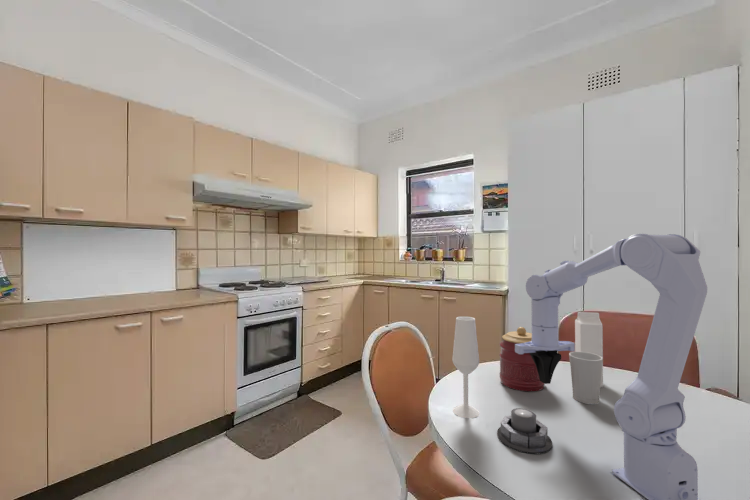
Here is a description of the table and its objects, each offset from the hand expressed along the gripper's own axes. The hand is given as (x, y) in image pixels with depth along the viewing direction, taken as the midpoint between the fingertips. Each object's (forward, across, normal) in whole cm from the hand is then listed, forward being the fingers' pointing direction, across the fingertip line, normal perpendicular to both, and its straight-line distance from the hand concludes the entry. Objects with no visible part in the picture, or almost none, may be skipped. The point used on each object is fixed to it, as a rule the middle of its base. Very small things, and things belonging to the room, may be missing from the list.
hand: (545, 382), depth 80 cm
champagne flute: (+10, +16, -9) cm, 21 cm away
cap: (+9, +9, +5) cm, 14 cm away
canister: (+10, -9, -23) cm, 27 cm away
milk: (+10, -30, -20) cm, 37 cm away
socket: (+10, +9, +5) cm, 14 cm away
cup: (+10, -20, -10) cm, 25 cm away
